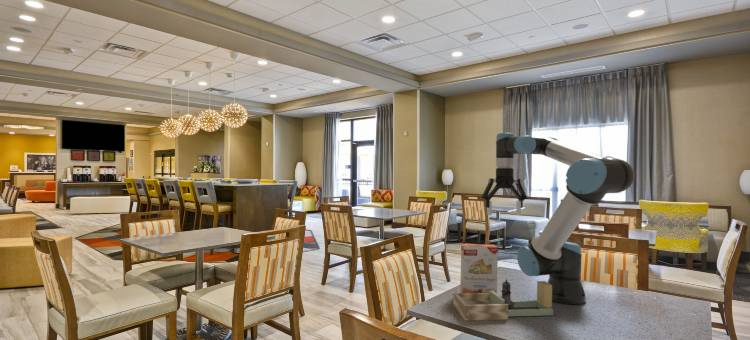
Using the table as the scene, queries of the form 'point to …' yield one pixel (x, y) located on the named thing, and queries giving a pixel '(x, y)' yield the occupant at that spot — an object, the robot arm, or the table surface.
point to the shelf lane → (479, 307)
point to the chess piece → (507, 294)
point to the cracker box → (478, 268)
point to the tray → (530, 302)
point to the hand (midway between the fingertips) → (504, 215)
